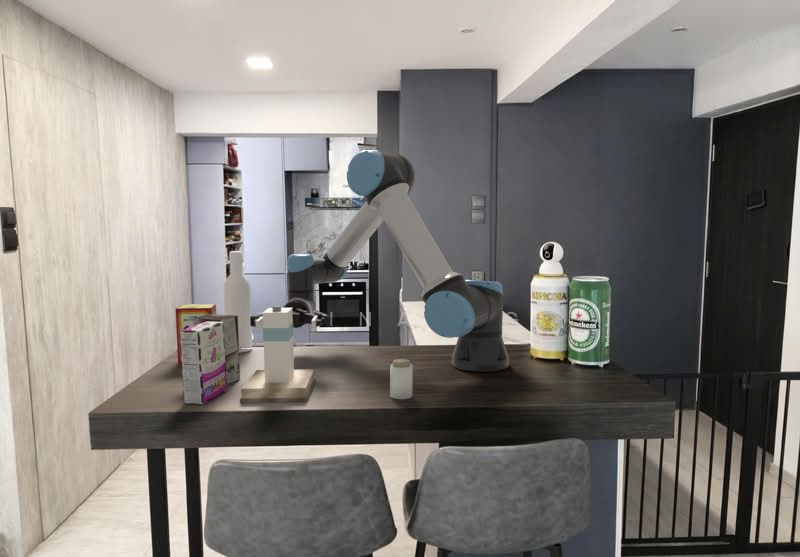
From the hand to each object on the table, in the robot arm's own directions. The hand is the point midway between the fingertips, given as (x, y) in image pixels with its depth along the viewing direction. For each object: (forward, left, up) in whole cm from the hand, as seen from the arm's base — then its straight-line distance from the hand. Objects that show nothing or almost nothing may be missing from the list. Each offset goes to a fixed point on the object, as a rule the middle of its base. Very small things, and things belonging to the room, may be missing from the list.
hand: (285, 326), depth 148 cm
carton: (0, +9, -11) cm, 14 cm away
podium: (0, +9, -14) cm, 16 cm away
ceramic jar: (-28, +14, -14) cm, 34 cm away
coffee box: (+17, -1, -14) cm, 22 cm away
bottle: (+20, -35, -14) cm, 43 cm away
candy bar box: (+16, +13, -14) cm, 25 cm away
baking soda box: (+28, -21, -14) cm, 38 cm away
